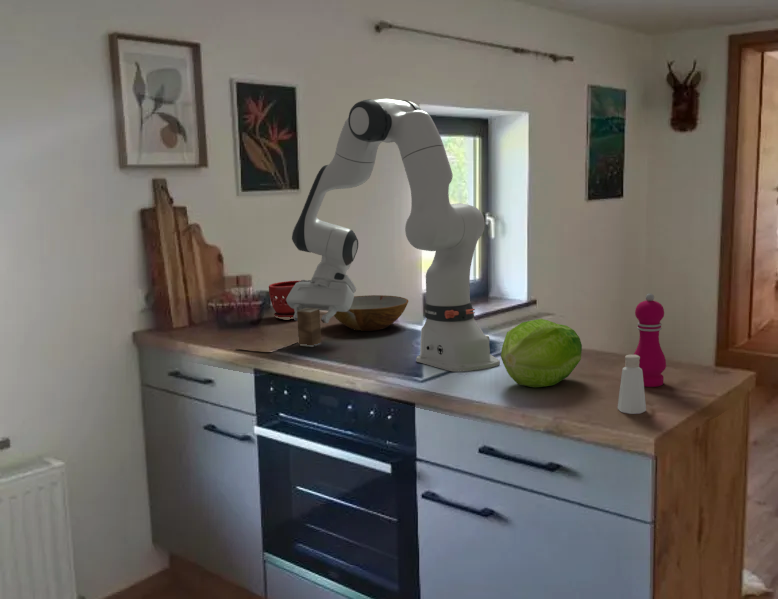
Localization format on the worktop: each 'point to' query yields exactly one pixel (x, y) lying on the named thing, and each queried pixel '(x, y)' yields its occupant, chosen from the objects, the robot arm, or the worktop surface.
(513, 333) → the lettuce
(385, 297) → the bowl
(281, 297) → the plant pot
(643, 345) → the pepper mill
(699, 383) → the worktop surface
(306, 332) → the block
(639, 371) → the pepper shaker
